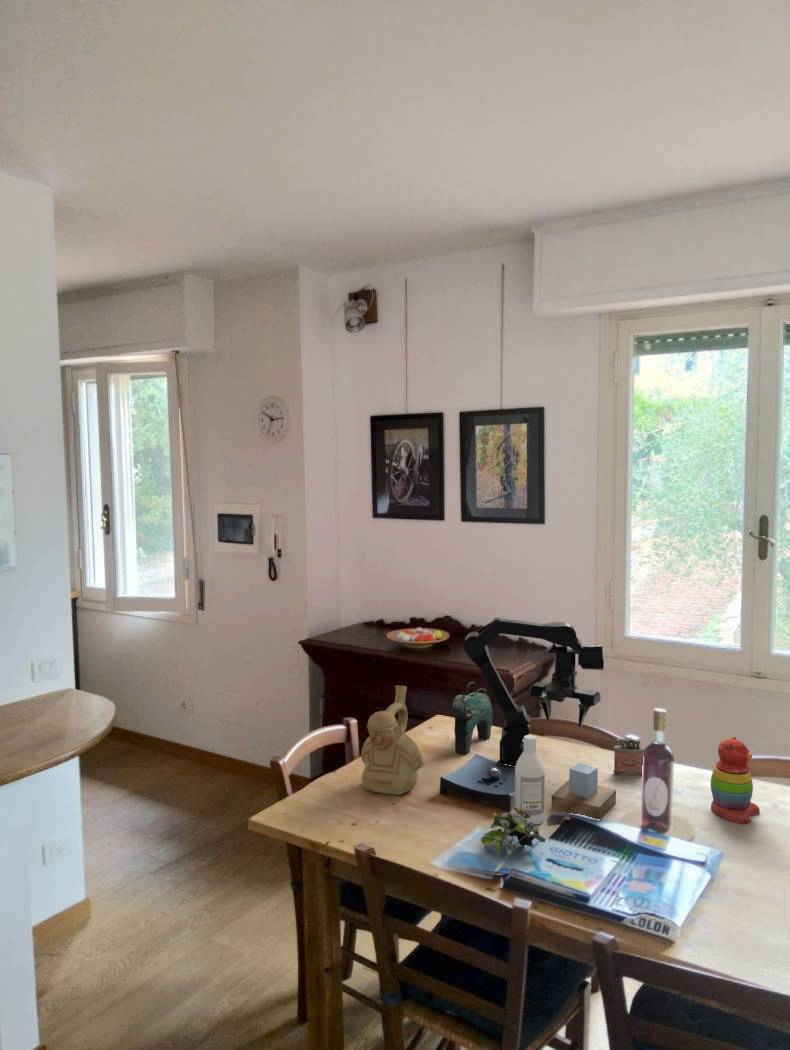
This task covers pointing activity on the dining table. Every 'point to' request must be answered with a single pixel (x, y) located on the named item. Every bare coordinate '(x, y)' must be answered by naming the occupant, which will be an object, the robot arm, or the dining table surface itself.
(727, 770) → the stacking bear
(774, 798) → the dining table surface
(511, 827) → the green leafy plant
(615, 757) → the lighter
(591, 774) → the slate block
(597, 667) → the robot arm
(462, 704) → the green elephant figurine
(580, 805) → the walnut slab
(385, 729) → the ceramic vessel
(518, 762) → the bath foam
